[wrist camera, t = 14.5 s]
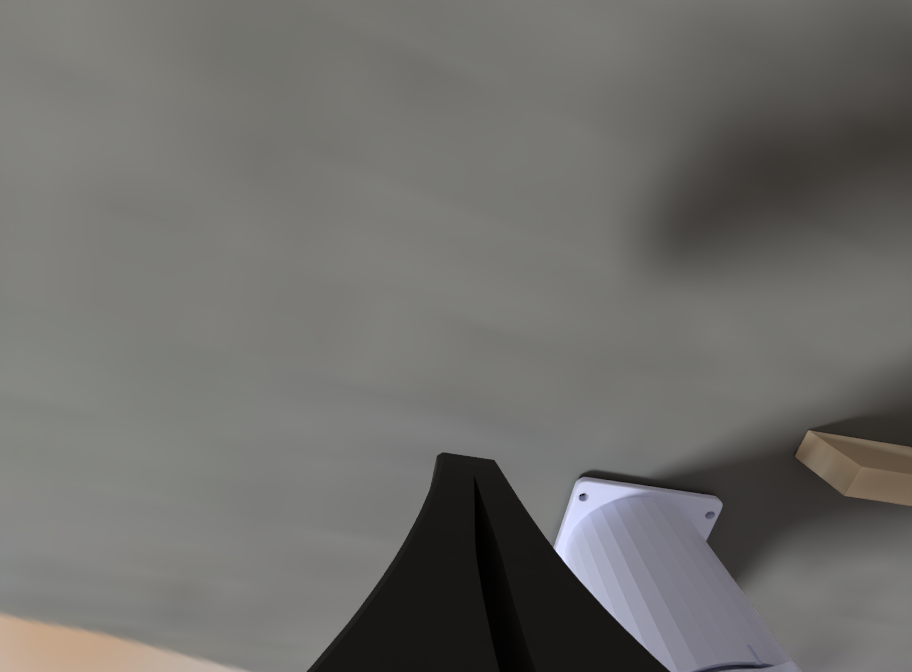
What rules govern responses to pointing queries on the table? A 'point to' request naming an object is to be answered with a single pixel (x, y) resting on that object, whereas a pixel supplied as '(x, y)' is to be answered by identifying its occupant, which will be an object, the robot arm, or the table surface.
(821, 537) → the table surface
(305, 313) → the table surface
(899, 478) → the wooden matchsticks
